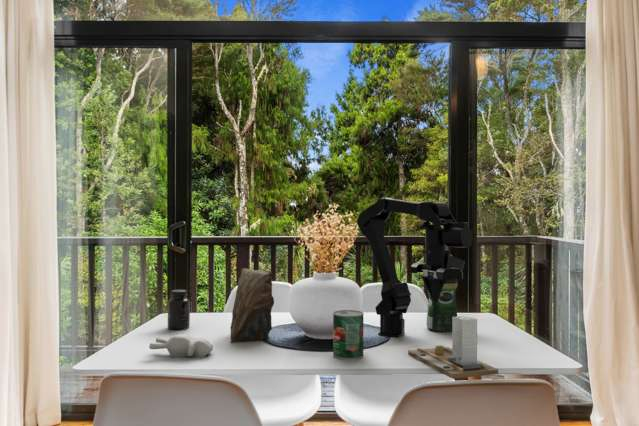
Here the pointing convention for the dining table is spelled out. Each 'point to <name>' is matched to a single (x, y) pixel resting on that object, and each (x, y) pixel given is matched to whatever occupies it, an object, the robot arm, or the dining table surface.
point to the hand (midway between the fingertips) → (435, 301)
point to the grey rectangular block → (464, 343)
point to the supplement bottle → (178, 310)
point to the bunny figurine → (183, 346)
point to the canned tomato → (348, 334)
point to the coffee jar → (443, 308)
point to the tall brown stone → (252, 307)
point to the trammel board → (448, 363)
